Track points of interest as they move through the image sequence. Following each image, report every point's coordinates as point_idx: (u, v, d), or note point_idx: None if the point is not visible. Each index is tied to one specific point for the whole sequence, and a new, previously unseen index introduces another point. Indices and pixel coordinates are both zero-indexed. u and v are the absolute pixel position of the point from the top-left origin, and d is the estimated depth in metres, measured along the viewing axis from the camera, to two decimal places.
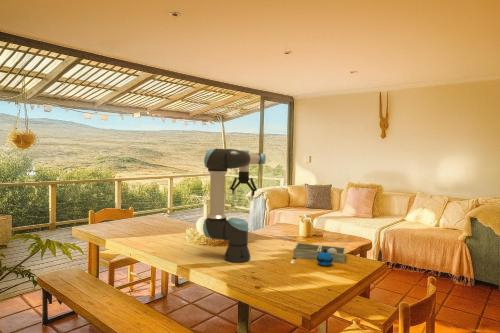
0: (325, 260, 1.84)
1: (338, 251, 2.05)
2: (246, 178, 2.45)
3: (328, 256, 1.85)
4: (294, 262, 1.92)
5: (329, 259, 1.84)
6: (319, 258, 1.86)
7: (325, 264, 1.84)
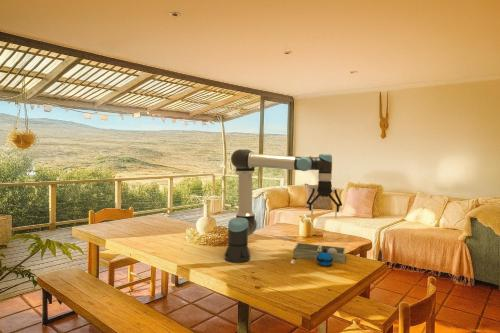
0: (325, 260, 1.84)
1: (338, 251, 2.05)
2: (328, 190, 1.92)
3: (328, 256, 1.85)
4: (294, 262, 1.92)
5: (329, 259, 1.84)
6: (319, 258, 1.86)
7: (325, 264, 1.84)
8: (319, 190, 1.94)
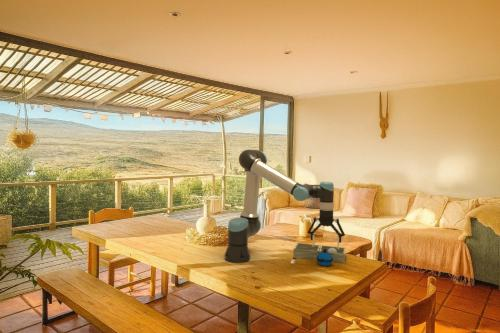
0: (325, 260, 1.84)
1: (338, 251, 2.05)
2: (330, 219, 1.85)
3: (328, 256, 1.85)
4: (294, 262, 1.92)
5: (329, 259, 1.84)
6: (319, 258, 1.86)
7: (325, 264, 1.84)
8: (320, 219, 1.87)
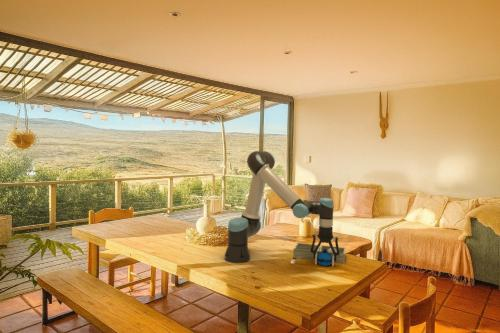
0: (325, 260, 1.84)
1: None
2: (329, 236, 1.85)
3: (328, 256, 1.85)
4: (294, 262, 1.92)
5: (329, 259, 1.84)
6: (319, 258, 1.86)
7: (325, 264, 1.84)
8: (320, 236, 1.87)
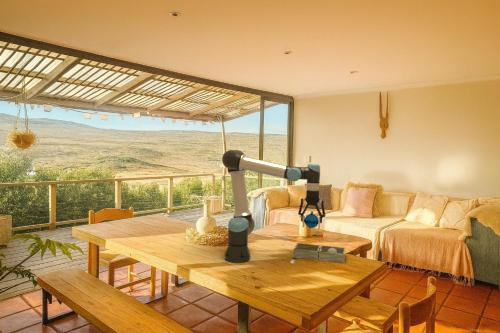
0: (311, 221, 1.96)
1: (338, 251, 2.05)
2: (316, 199, 1.98)
3: (314, 218, 1.97)
4: (294, 262, 1.92)
5: (315, 220, 1.96)
6: (306, 220, 1.98)
7: (311, 225, 1.97)
8: (307, 199, 1.99)
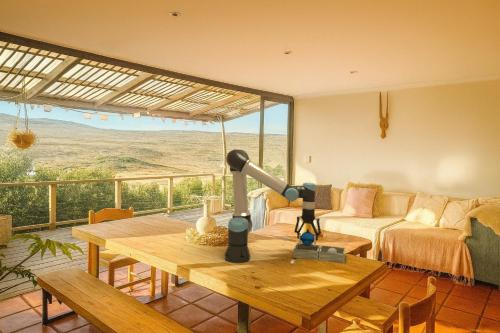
0: (307, 239, 2.00)
1: (338, 251, 2.05)
2: (312, 217, 2.02)
3: (310, 236, 2.01)
4: (294, 262, 1.92)
5: (311, 238, 2.01)
6: (302, 237, 2.02)
7: (307, 243, 2.01)
8: (303, 217, 2.03)
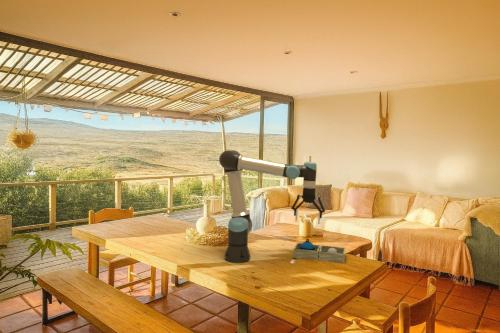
0: (307, 249, 2.00)
1: (338, 251, 2.05)
2: (312, 196, 2.01)
3: (310, 245, 2.01)
4: (294, 262, 1.92)
5: (311, 248, 2.01)
6: (302, 247, 2.02)
7: None
8: (303, 196, 2.03)
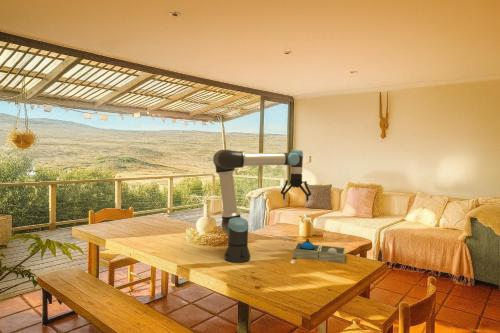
0: (307, 249, 2.00)
1: (338, 251, 2.05)
2: (299, 181, 2.19)
3: (310, 245, 2.01)
4: (294, 262, 1.92)
5: (311, 248, 2.01)
6: (302, 247, 2.02)
7: None
8: (291, 182, 2.21)
